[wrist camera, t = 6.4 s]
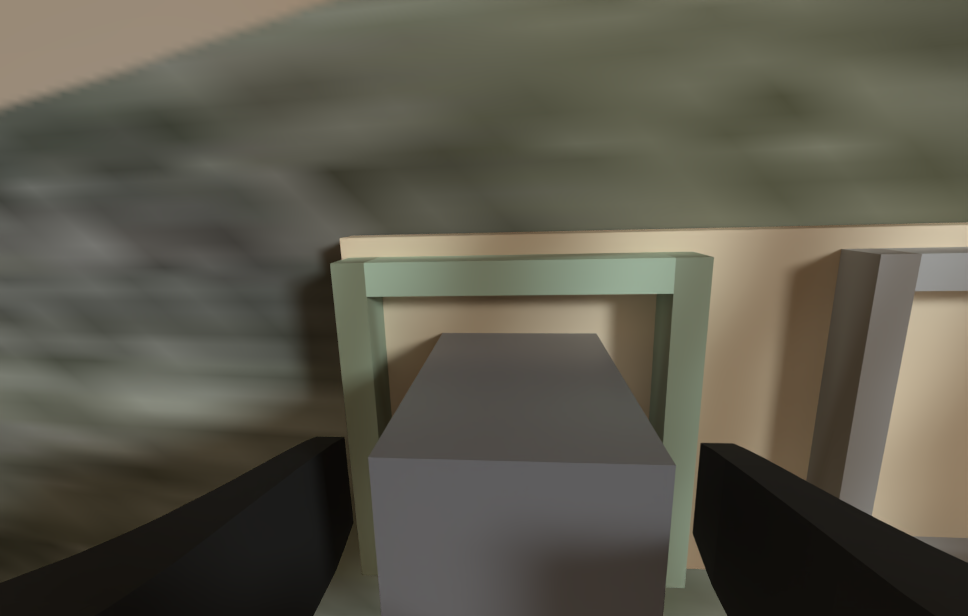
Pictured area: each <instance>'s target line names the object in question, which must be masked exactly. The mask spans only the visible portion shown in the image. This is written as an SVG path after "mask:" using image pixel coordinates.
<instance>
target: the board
mask: <svg viewBox="0 0 968 616" xmlns="http://www.w3.org/2000/svg"><path fill="white" fill-rule="evenodd" d="M340 247H341V257H342V260H340V261H337V262H333V263H330V268H331V278H332V288H333V298H334V307H335V317H336V327H337V336H338V346H339V356H340V366H341V375H342V385H343V395H344V405H345V414H346V424H347V434H348V443H349V453H350V463H351V473H352V482H353V492H354V502H355V512H356V521H357V531H358V541H359V551H360V560H361V570H362V575H377V576H378V568H377V557H376V545H375V533H374V521H373V509H372V497H371V485H370V474H369V462H368V457H369V455H370V454H371V452H372V450H373V448H374V447H375V445H376V443H377V442H378V440H379V438H380V437H381V435H382V433H383V432H384V430H385V428H386V427H387V425H388V423H389V422H390V420H391V418H392V417H393V415H394V413H395V412H396V410H397V408H398V407H399V405H400V403H401V402H402V400H403V398H404V397H405V395H406V393H407V392H408V390H409V388H410V387H411V385H412V383H413V382H414V380H415V378H416V377H417V375H418V373H419V372H420V370H421V368H422V367H423V365H424V363H425V362H426V360H427V358H428V356H429V355H430V353H431V351H432V350H433V348H434V346H435V345H436V343H437V341H438V340H439V338H440V336H441V335H442V333H596V334H597V335H598V337H599V339H600V340H601V342H602V344H603V345H604V347H605V349H606V350H607V352H608V354H609V355H610V357H611V358H612V360H613V362H614V363H615V365H616V367H617V368H618V370H619V372H620V373H621V375H622V377H623V378H624V380H625V382H626V383H627V385H628V387H629V388H630V390H631V392H632V393H633V395H634V397H635V398H636V400H637V402H638V403H639V405H640V407H641V408H642V410H643V412H644V413H645V415H646V417H647V418H648V420H649V421H650V423H651V425H652V426H653V428H654V430H655V431H656V433H657V435H658V436H659V438H660V440H661V441H662V443H663V445H664V446H665V448H666V450H667V451H668V453H669V455H670V456H671V458H672V460H673V461H674V463H675V465H676V472H675V484H674V495H673V507H672V518H671V530H670V541H669V553H668V564H667V576H666V587H671V588H685V578H686V569H705V566H704V564H703V561H702V558H701V555H700V553H699V550H698V547H697V544H696V542H695V539H694V536H693V533H692V532H693V521H694V510H695V499H696V488H697V477H698V466H699V455H700V444H701V443H734V444H736V445H738V446H741V447H743V448H745V449H747V450H749V451H751V452H753V453H755V454H757V455H759V456H761V457H763V458H765V459H767V460H769V461H771V462H773V463H774V464H776V465H778V466H780V467H782V468H784V469H785V470H787V471H789V472H791V473H793V474H795V475H796V476H798V477H800V478H802V479H804V480H805V481H807V482H809V483H811V484H813V485H815V486H816V487H818V488H820V489H822V490H824V491H826V492H828V493H829V494H831V495H833V496H835V497H837V498H839V499H840V500H842V501H844V502H846V503H848V504H850V505H852V506H854V507H856V508H857V509H859V510H861V511H863V512H865V513H867V514H869V515H871V516H873V517H875V518H877V519H879V520H881V521H883V522H885V523H887V524H889V525H891V526H893V527H895V528H897V529H899V530H901V531H903V532H905V533H907V534H909V535H911V536H913V537H915V538H917V539H919V540H921V541H923V542H925V543H927V544H929V545H931V546H933V547H935V548H937V549H939V550H942V551H944V552H946V553H948V554H950V555H952V556H954V557H957V558H959V559H961V560H963V561H965V562H967V563H968V222H965V223H918V224H872V225H825V226H779V227H733V228H686V229H640V230H593V231H547V232H501V233H454V234H408V235H361V236H349V237H344V238H340Z"/></svg>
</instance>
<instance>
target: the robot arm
mask: <svg viewBox="0 0 968 616" xmlns="http://www.w3.org/2000/svg"><path fill="white" fill-rule="evenodd" d="M352 525H353V515H352V506H351V496H350V487H349V477H348V468H347V458H346V448H345V439H344V437H315V438H312V439H310V440H307V441H305V442H303V443H301V444H299V445H297V446H295V447H293V448H291V449H289V450H287V451H285V452H283V453H282V454H280V455H278V456H276V457H274V458H272V459H271V460H269V461H267V462H265V463H263V464H261V465H260V466H258V467H256V468H254V469H252V470H250V471H249V472H247V473H245V474H243V475H241V476H239V477H238V478H236V479H234V480H232V481H230V482H228V483H227V484H225V485H223V486H221V487H219V488H217V489H215V490H213V491H211V492H209V493H207V494H205V495H203V496H201V497H199V498H197V499H195V500H193V501H191V502H189V503H187V504H186V505H184V506H182V507H180V508H178V509H176V510H174V511H172V512H170V513H168V514H166V515H164V516H162V517H160V518H158V519H156V520H153V521H151V522H149V523H147V524H145V525H143V526H141V527H138V528H136V529H134V530H132V531H130V532H127V533H125V534H123V535H121V536H118V537H116V538H114V539H111V540H109V541H107V542H104V543H102V544H100V545H97V546H95V547H93V548H90V549H88V550H86V551H83V552H81V553H78V554H76V555H73V556H71V557H69V558H66V559H63V560H61V561H58V562H55V563H53V564H50V565H47V566H45V567H42V568H39V569H37V570H34V571H31V572H29V573H26V574H23V575H21V576H18V577H15V578H13V579H10V580H7V581H5V582H2V583H0V616H313V615H314V613H315V611H316V609H317V607H318V605H319V603H320V601H321V599H322V597H323V595H324V593H325V591H326V589H327V587H328V585H329V583H330V581H331V579H332V577H333V575H334V573H335V571H336V569H337V566H338V563H339V561H340V558H341V556H342V553H343V550H344V548H345V545H346V542H347V539H348V536H349V533H350V530H351V528H352ZM692 533H693V536H694V539H695V542H696V544H697V547H698V550H699V553H700V555H701V558H702V561H703V564H704V566H705V569H706V571H707V574H708V576H709V579H710V581H711V584H712V586H713V588H714V590H715V592H716V594H717V596H718V598H719V600H720V602H721V604H722V606H723V608H724V610H725V612H726V614H727V616H968V563H967V562H965V561H963V560H961V559H959V558H957V557H954V556H952V555H950V554H948V553H946V552H944V551H942V550H939V549H937V548H935V547H933V546H931V545H929V544H927V543H925V542H923V541H921V540H919V539H917V538H915V537H913V536H911V535H909V534H907V533H905V532H903V531H901V530H899V529H897V528H895V527H893V526H891V525H889V524H887V523H885V522H883V521H881V520H879V519H877V518H875V517H873V516H871V515H869V514H867V513H865V512H863V511H861V510H859V509H857V508H856V507H854V506H852V505H850V504H848V503H846V502H844V501H842V500H840V499H839V498H837V497H835V496H833V495H831V494H829V493H828V492H826V491H824V490H822V489H820V488H818V487H816V486H815V485H813V484H811V483H809V482H807V481H805V480H804V479H802V478H800V477H798V476H796V475H795V474H793V473H791V472H789V471H787V470H785V469H784V468H782V467H780V466H778V465H776V464H774V463H773V462H771V461H769V460H767V459H765V458H763V457H761V456H759V455H757V454H755V453H753V452H751V451H749V450H747V449H745V448H743V447H741V446H738V445H736V444H734V443H701V444H700V455H699V466H698V477H697V488H696V499H695V510H694V521H693V532H692Z"/></svg>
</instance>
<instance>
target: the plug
mask: <svg viewBox="0 0 968 616" xmlns="http://www.w3.org/2000/svg"><path fill="white" fill-rule="evenodd" d="M368 462H369V474H370V485H371V497H372V509H373V521H374V533H375V545H376V557H377V568H378V580H379V592H380V604H381V616H663V610H664V599H665V587H666V576H667V564H668V553H669V541H670V530H671V518H672V507H673V495H674V484H675V472H676V465H675V463H674V461H673V460H672V458H671V456H670V455H669V453H668V451H667V450H666V448H665V446H664V445H663V443H662V441H661V440H660V438H659V436H658V435H657V433H656V431H655V430H654V428H653V426H652V425H651V423H650V421H649V420H648V418H647V417H646V415H645V413H644V412H643V410H642V408H641V407H640V405H639V403H638V402H637V400H636V398H635V397H634V395H633V393H632V392H631V390H630V388H629V387H628V385H627V383H626V382H625V380H624V378H623V377H622V375H621V373H620V372H619V370H618V368H617V367H616V365H615V363H614V362H613V360H612V358H611V357H610V355H609V354H608V352H607V350H606V349H605V347H604V345H603V344H602V342H601V340H600V339H599V337H598V335H597V334H596V333H442V335H441V336H440V338H439V340H438V341H437V343H436V345H435V346H434V348H433V350H432V351H431V353H430V355H429V356H428V358H427V360H426V362H425V363H424V365H423V367H422V368H421V370H420V372H419V373H418V375H417V377H416V378H415V380H414V382H413V383H412V385H411V387H410V388H409V390H408V392H407V393H406V395H405V397H404V398H403V400H402V402H401V403H400V405H399V407H398V408H397V410H396V412H395V413H394V415H393V417H392V418H391V420H390V422H389V423H388V425H387V427H386V428H385V430H384V432H383V433H382V435H381V437H380V438H379V440H378V442H377V443H376V445H375V447H374V448H373V450H372V452H371V454H370V455H369V457H368Z"/></svg>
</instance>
